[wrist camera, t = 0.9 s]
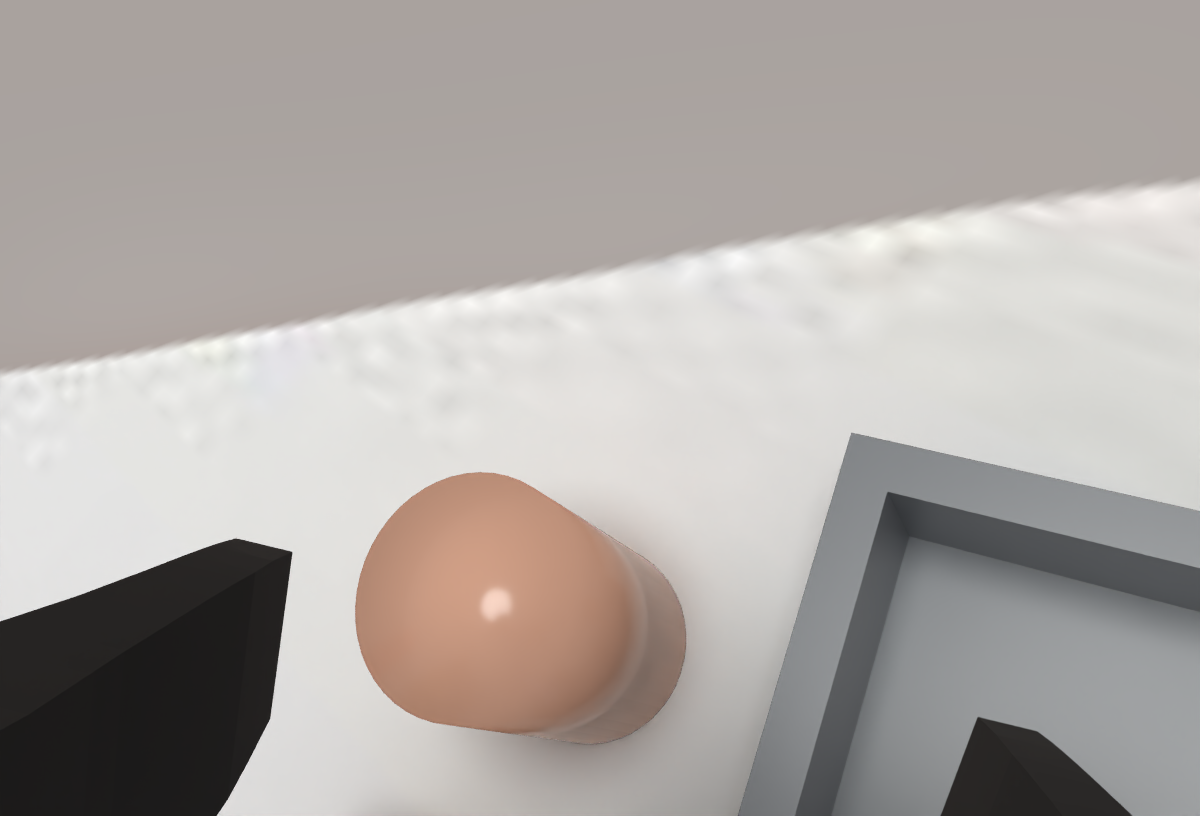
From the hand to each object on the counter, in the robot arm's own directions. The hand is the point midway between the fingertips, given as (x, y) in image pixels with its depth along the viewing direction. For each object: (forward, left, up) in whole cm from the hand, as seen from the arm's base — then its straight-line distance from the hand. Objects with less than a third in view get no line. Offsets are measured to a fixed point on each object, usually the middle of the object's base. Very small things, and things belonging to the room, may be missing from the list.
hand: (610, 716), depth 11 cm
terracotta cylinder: (+1, +7, -15) cm, 17 cm away
